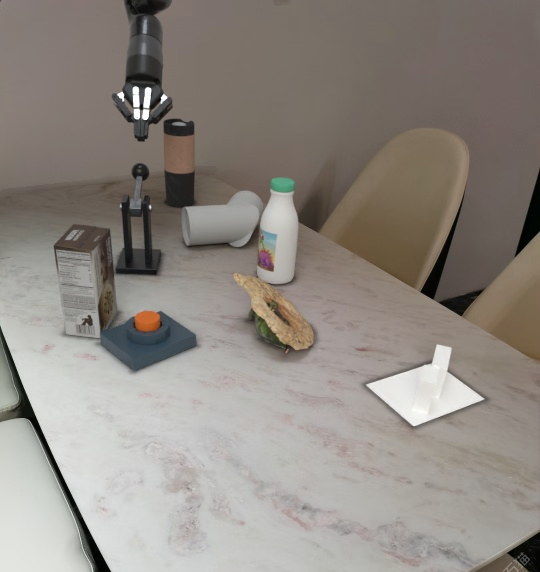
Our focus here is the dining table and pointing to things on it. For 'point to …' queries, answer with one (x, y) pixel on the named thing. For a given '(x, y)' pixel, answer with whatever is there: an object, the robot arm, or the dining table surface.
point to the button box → (147, 342)
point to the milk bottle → (278, 234)
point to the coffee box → (86, 280)
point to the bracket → (135, 257)
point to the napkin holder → (425, 390)
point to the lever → (138, 189)
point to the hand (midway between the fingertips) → (140, 139)
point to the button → (147, 321)
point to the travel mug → (179, 162)
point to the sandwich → (275, 315)
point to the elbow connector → (223, 221)
